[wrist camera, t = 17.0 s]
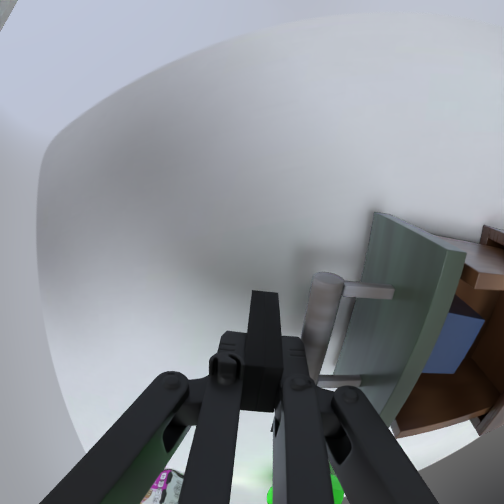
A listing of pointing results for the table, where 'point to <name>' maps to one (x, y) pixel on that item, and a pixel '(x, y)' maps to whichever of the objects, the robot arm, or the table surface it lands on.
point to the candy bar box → (165, 489)
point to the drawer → (412, 327)
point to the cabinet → (500, 411)
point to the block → (454, 338)
